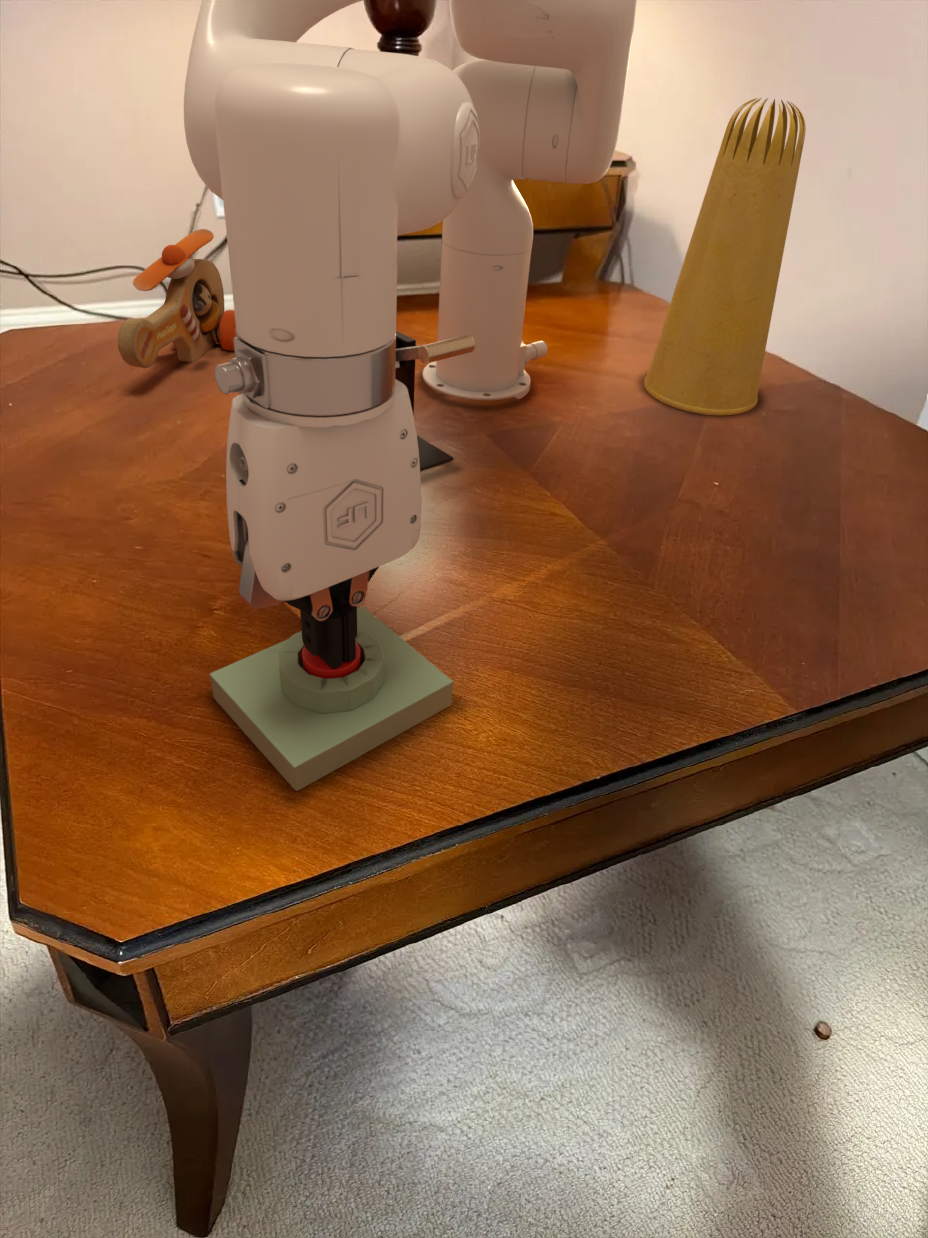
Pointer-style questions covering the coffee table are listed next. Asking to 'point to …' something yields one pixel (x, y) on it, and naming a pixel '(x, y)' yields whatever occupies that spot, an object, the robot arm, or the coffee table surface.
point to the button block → (330, 701)
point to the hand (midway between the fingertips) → (330, 652)
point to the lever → (436, 350)
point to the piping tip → (731, 270)
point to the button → (322, 670)
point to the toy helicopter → (180, 307)
